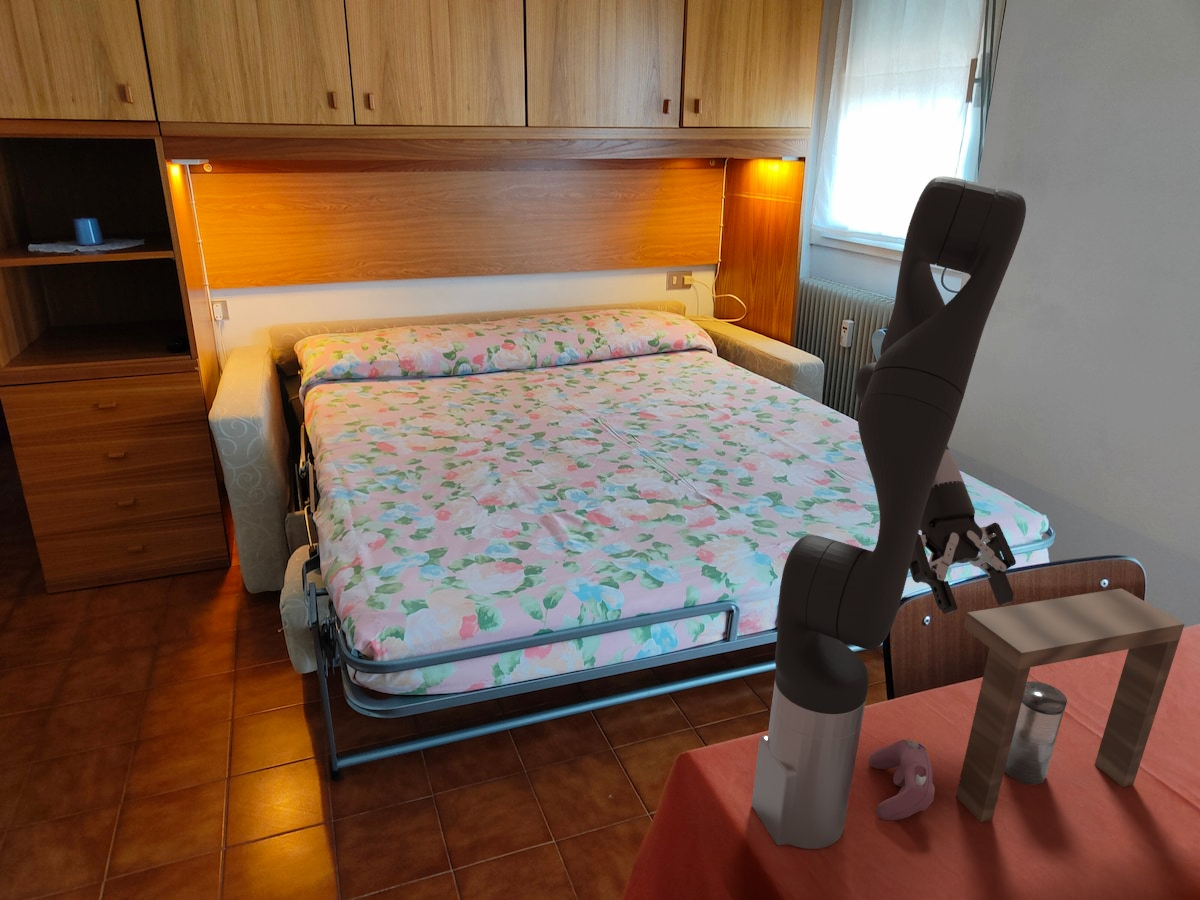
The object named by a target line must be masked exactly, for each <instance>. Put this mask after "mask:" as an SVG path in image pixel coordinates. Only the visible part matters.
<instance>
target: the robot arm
mask: <svg viewBox="0 0 1200 900" xmlns="http://www.w3.org/2000/svg"><path fill="white" fill-rule="evenodd" d="M1026 212H1027V204H1026V200H1025V198H1024V197H1023V195H1022V194H1019V193H1017V192H1015V191H1013V190H1010V189H1006V188H1003V187H999V186H992V185H988V184H984V183H979V182H975V181H971V180H966V179H963V178H958V177H952V176H937V177H933V178H932V179H931V180H930V181H929V182H928V183H927V184H926V185H925V187H924V188H923V190H922V192H921V193H920V196H919V198H918V201H917V202H916V204H915V207H914V210H913V212H912V215H911V218H910V222H909V225H908V229H907V232H906V236H905V240H904V245H903V250H902V255H901V261H900V264H899V265H900V266H899V271H898V277H897V278H898V279H897V285H896V293H895V299H894V305H893V309H892V314H891V317H890V319H889V322H888V325H887V329H886V331H885V334H884V336H883V339H882V342H881V345H880V357H879V358H878V360H877V361H875V362H869V363H867V364H865V365H863V366H861V368H859V370H858V372H857V373H856V376H855V380H854V381H855V382H854V385H855V392H856V395H857V398H858V400H859V402H860V403H861V404H860V407H859V410H858V415H857V416H858V417H857V425H858V433H859V438H860V441H861V444H862V449H863V453H864V454H865V458H866V461H867V465H868V467H869V471H870V474H871V477H872V480H873V484H874V489H875V491H876V492H875V493H876V500H877V504H878V511H879V512H878V513H879V529H878V534H877V535H878V536H877V541H876V543H875V547H874V549H873V550H868V549H865V548H862V547H859V546H855V545H852V544H849V543H846V542H841V541H839V540H835V539H831V538H828V537H824V536H822V535H821V536H820V535H817V534H808V535H805V536H803V537H800V539H798V540H797V541H796V542H795V543H794V545H793V546H792V548H791V550H790V551H789V553H788V555H787V558H786V560H785V563H784V566H783V569H782V574H781V581H780V585H779V595H778V609H777V610H778V611H777V613H778V614H777V630H776V631H777V632H776V644H775V652H774V654H775V655H774V662H775V663H774V664H775V668H776V669H775V673H774V674H775V675H774V676H775V677H774V684H773V694H772V698H771V699H772V701H771V707H770V716H769V724H768V731H767V734H765V735H764V734H763V735H761V736H760V737H759V738H758V739H759V740H758V746H757V747H758V749H757V757H756V766H755V773H754V781H753V790H752V797H751V807H752V808H753V810H754V811H755V813H756V815H757V817H758V818H759V819H760V821H761V823H762V824H763V826H764V827H765V828H766V830H767V832H768V834H769V835H770V837H771V838H772V840H773V841H774V843H775V845H777V846H784V845H790V846H793V847H796V848H799V849H800V848H801V849H808V850H815V849H816V850H817V849H823V848H828V847H829V846H832V845H834V844H835V843H837V842H838V841H839V840H840V838H841V837H842V835H843V833H844V829H845V824H846V819H847V813H848V812H847V811H848V807H849V800H850V795H851V788H852V782H853V778H854V777H853V776H854V770H855V765H856V759H857V754H858V748H859V747H858V746H859V742H860V736H861V730H862V726H863V719H864V718H863V717H864V715H865V707H866V702H867V701H866V700H867V698H868V697H867V696H868V689H869V684H870V682H869V681H870V678H869V670H868V668H867V666H866V664H865V662H864V660H863V659H862V658H861V657H860V656H859V655H858V654H857V653H856V652H854V651H853V650H852V649H851V648H850V647H848V646H847V645H846V644H848V645H852V646H854V647H858V648H860V649H863V650H869V651H871V650H875V649H877V648H879V647H880V646H881V645H882V644H883V643H884V641H885V640H886V639H887V637H888V636H889V634H890V632H891V630H892V628H893V625H894V623H895V620H896V617H897V614H898V612H899V608H900V605H901V604H900V603H901V601H902V598H903V593H904V589H905V586H906V582H907V579H908V576H909V575H908V574H909V570H910V574H911V575H910V576H911V579H912V580H913V582H915V583H923V584H927V585H928V586H929V587H930V588H931V591H932V595H933V598H934V600H935V604H936V606H937V608H938V609H939V610H941V612H942V614H945V615H946V614H951V613H953V612H956V611H957V610H958V605H957V602H956V599H955V597H954V594H953V591H952V589H951V585H950V583H949V581H948V580H946V578H947V577H946V576H947V574H948V570H949V567H950V566H951V565H954V564H957V563H958V564H965V563H970V564H971V565H972V566H974V567H976V568H979V569H980V570H981V571H983V573H985V574H986V575H987V576H988V577H987V581H988V582H989V585H990V587H991V591H992V592H993V596H994V598H995V601H996V603H997V605H998V606H1002V605H1007V604H1009V603H1012V602H1013V601H1014V591H1013V589H1012V586H1011V584H1010V581H1009V579H1008V576H1007V573H1006V572H1007V570H1008V569H1010V568H1011V567H1013V566H1015V565H1016V563H1017V561H1016V558H1015V556H1014V554H1013V552H1012V550H1011V547H1010V545H1009V543H1008V540H1007V539H1006V537H1005V534H1004V532H1003V530H1002V528H1001V525H1000V523H998V522H992V523H990V524H988V525H985V526H982V527H980V526H979V525H978V523H977V522H976V520H975V513H976V510H975V507H974V504H973V502H972V500H971V497H970V493H969V492H968V490H967V486H966V484H965V482H964V479H963V477H962V474H961V472H960V469H959V467H958V464H957V463H956V461H955V459H954V458H953V455H952V454H951V453H952V452H951V451H950V449H949V447H948V443H949V441H950V438H951V436H952V434H953V430H954V427H955V424H956V422H957V418H958V415H959V412H960V411H961V410H960V409H961V406H962V402H963V400H964V397H965V393H966V390H967V386H968V383H969V378H970V376H971V372H972V368H973V365H974V361H975V358H976V354H977V352H978V348H979V345H980V342H981V338H982V335H983V332H984V329H985V327H986V323H987V321H988V318H989V315H990V313H991V310H992V308H993V305H994V303H995V300H996V298H997V295H998V293H999V290H1000V288H1001V285H1002V283H1003V280H1004V278H1005V276H1006V273H1007V270H1008V267H1009V266H1010V263H1011V260H1012V258H1013V255H1014V253H1015V250H1016V247H1017V245H1018V242H1019V240H1020V237H1021V234H1022V231H1023V228H1024V224H1025V220H1026ZM931 265H934V266H935V265H936V266H937V267H941V268H943V269H944V268H945V269H948V270H953V271H956V272H960V273H964V274H967V275H969V276H970V277H969V279H968V280H967V281H966V283H965V284H964V285H963V286H962V288H961V289H960V290H959V291H958V292H957V293H956V294H955V295H954V297H952V298H951V299H950V300H949V301H948V302H947V303H945V302H944V298H943V297H942V294H941V292H940V290H939V288H938V286H937V283H936V281H935V279H934V275H933V272H932V268H931ZM920 531H921V534H919V532H920ZM926 549H928V551H930V556H929V560H928V556H927V553H926ZM979 553H980V554H979ZM845 643H846V644H845Z"/></svg>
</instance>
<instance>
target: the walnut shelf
mask: <svg viewBox="0 0 1200 900" xmlns="http://www.w3.org/2000/svg"><path fill="white" fill-rule="evenodd" d="M1184 627H1185V623H1183V622H1182V621H1181V620H1179V619H1177V618H1175V617H1172V615H1170V614H1167V613H1166V612H1164V611H1163V610H1161V609H1159V608H1157V607H1155V606H1153V605H1152V604H1151V603H1149V602H1146V601H1145V600H1143V599H1142V598H1139V597H1138V596H1136V595H1135V594H1133V593H1130V592H1129V591H1127V590H1125V589H1123V588H1115V589H1108V590H1102V591H1101V590H1100V591H1096V592H1089V593H1082V594H1076V595H1071V596H1070V595H1069V596H1063V597H1057V598H1051V599H1044V600H1043V599H1042V600H1037V601H1031V602H1024V603H1020V604H1012V605H1007V606H1001V607H993V608H987V609H980V610H974V611H968V612H966V616H965V621H964V625H963V629H964V630H966V632H968V633H969V634H971V635H972V636H974V637H975V639H978V640H979V641H980V642H981V643H983V644H984V645H985V646H986V647H988V648H989V651H988V654H987V658H986V662H985V666H984V667H985V668H984V670H983V671H984V672H983V676H982V680H981V684H980V689H979V694H978V698H977V702H976V707H975V711H974V712H975V713H974V714H973V720H972V725H971V729H970V733H969V738H968V742H967V745H966V750H965V754H964V760H963V763H962V764H963V765H962V768H961V773H960V776H959V777H960V778H959V782H958V787H957V790H956V795H955V797H956V799H957V800H958V801H959V802H960V803H961V804H962V805H963V806H964V807H965V808H966V809H967V811H969V813H971V814H972V816H973V817H975V818H976V820H977V821H978V822H979V823H985V822H988V821H992V820H993V818H994V815H995V810H996V807H997V803H998V799H999V794H1000V791H1001V786H1002V783H1003V779H1004V774H1005V767H1006V763H1007V759H1008V755H1009V751H1010V747H1011V743H1012V739H1013V735H1014V731H1015V727H1016V723H1017V719H1018V715H1019V711H1020V707H1021V703H1022V699H1023V695H1024V691H1025V687H1026V683H1027V682H1028V679H1029V674H1030V670H1031V668H1034V667H1040V666H1045V665H1050V664H1056V663H1061V662H1067V661H1071V660H1072V661H1073V660H1077V659H1082V658H1087V657H1088V658H1089V657H1094V656H1098V655H1105V654H1111V653H1115V652H1116V653H1117V652H1121V651H1126V650H1127V654H1126V658H1125V660H1124V664H1123V668H1122V670H1121V674H1120V678H1119V679H1118V684H1117V687H1116V691H1115V694H1114V697H1113V700H1112V704H1111V708H1110V711H1109V714H1108V718H1107V721H1106V725H1105V728H1104V732H1103V735H1102V738H1101V742H1100V745H1099V748H1098V751H1097V755H1096V758H1095V763H1094V765H1095V766H1096V767H1097V768H1098V769H1099V770H1101V771H1102V772H1103V773H1104V774H1105V775H1107V776H1108V777H1109V778H1111V779H1112V780H1113V781H1114V782H1115V783H1117V784H1118V785H1119V786H1120V787H1121V788H1127V787H1129V786H1134V784H1135V781H1136V777H1137V775H1138V771H1139V768H1140V766H1141V761H1142V759H1143V756H1144V752H1145V749H1146V746H1147V743H1148V741H1149V737H1150V733H1151V730H1152V727H1153V725H1154V721H1155V719H1156V716H1157V712H1158V708H1159V705H1160V703H1161V699H1162V696H1163V693H1164V689H1165V687H1166V684H1167V680H1168V677H1169V674H1170V672H1171V667H1172V665H1173V662H1174V659H1175V655H1176V651H1177V649H1178V646H1179V642H1180V640H1181V636H1182V634H1183V631H1184Z"/></svg>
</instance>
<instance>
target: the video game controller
mask: <svg viewBox="0 0 1200 900" xmlns="http://www.w3.org/2000/svg"><path fill="white" fill-rule="evenodd" d="M867 759H868V760H867V761H868V764H869V765H870V766H871V767H872V768H874V769H877V770H878V769H879V770H886V769H887V770H888V769H893V768H897V769H896V770H895V773H894V774H893V784H894V785H897V787H899V788H900V789H899V791H898V793H897V794H896V795H894V796H891V797H889V798H887V799H885V800H883V801H881V802H880V803H879V804H878V805H877V806H876V809H875V813H876V816H877V817H878V818H879V819H881V820H885V821H897V820H903V819H906V818H908V817H911V816H913V815H914V814H917V813H918V812H923V811H926V809H928V808H929V807H930V806H931V804H932V802H934V796H935V793H936V787H935V785H934V782H933V769H932V768H933V767H932V761H931V759H930V756H929V754H928V752H927V750H926V748H925V746H924V745H922V744H920V742H919V743H917V742H916V741H914V740H910V739H909V738H908V739H901V740H899V741H896V742H894V743H893V744H892V743H891V744H890V745H887V746H884V747H881V748H878V749H877V750H874V751H873V752H872V753H870V755H869V757H868V758H867Z"/></svg>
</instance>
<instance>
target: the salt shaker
mask: <svg viewBox="0 0 1200 900" xmlns="http://www.w3.org/2000/svg"><path fill="white" fill-rule="evenodd" d="M1067 703H1068V699H1067V696H1066V695H1065V694H1064V693H1063V692H1062V691H1061V690H1060V689H1058V688H1057V687H1055V686H1053V685H1051V684H1047V683H1045V682H1041V681H1035V680H1033V681H1032V680H1029V681H1028V680H1027V683H1026V687H1025V691H1024V695H1023V699H1022V703H1021V707H1020V711H1019V715H1018V719H1017V723H1016V727H1015V731H1014V735H1013V739H1012V743H1011V747H1010V751H1009V755H1008V759H1007V763H1006V767H1005V771H1004V773H1005V774H1006V775H1007V776H1009V777H1010V778H1012V779H1014V780H1015V781H1016V782H1019V783H1022V784H1025V785H1041V784H1043V783H1044V781H1046V777H1047V773H1048V770H1049V768H1050V767H1049V766H1050V762H1051V759H1052V756H1053V752H1054V748H1055V745H1056V742H1057V737H1058V734H1059V730H1060V726H1061V723H1062V720H1063V715H1064V713H1065V710H1066V706H1067Z"/></svg>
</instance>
